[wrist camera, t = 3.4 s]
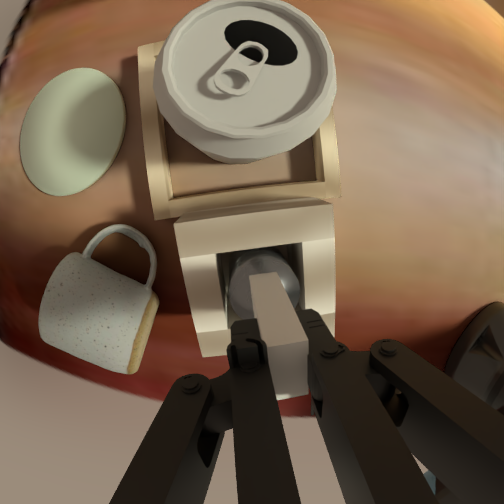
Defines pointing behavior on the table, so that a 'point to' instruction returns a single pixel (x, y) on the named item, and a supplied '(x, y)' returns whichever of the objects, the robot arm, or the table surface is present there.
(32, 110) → the pad
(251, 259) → the glossy grey oval piece
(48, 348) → the table surface
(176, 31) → the can
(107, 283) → the ceramic mug
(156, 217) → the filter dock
